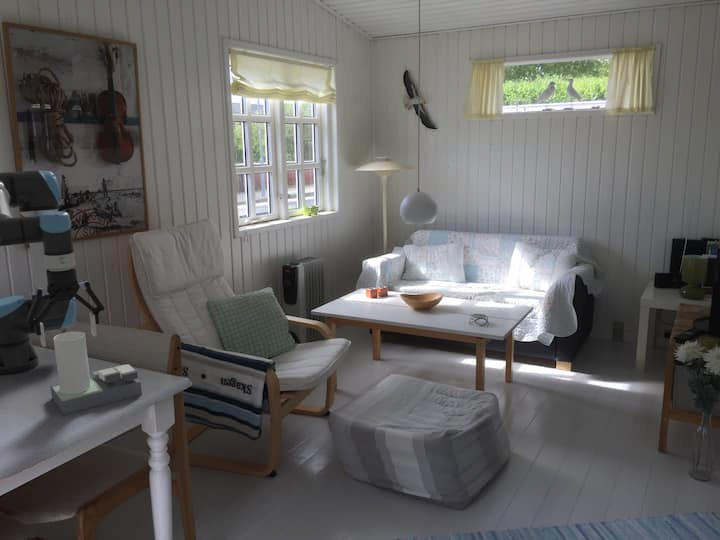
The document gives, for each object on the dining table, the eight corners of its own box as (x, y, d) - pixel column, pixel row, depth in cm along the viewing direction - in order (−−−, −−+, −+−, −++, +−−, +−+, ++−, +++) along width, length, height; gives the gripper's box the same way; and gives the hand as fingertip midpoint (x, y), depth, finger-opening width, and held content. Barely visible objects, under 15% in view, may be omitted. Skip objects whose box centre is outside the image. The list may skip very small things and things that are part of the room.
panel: (52, 398, 188) (49, 376, 186) (126, 379, 201) (124, 359, 200) (63, 414, 177) (60, 391, 176) (141, 394, 190) (139, 372, 189)
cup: (79, 395, 179) (73, 341, 175) (53, 393, 180) (46, 339, 177) (96, 383, 187) (90, 332, 183) (71, 382, 188) (65, 330, 185)
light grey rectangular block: (97, 371, 190) (105, 376, 184) (111, 367, 192) (119, 372, 186) (98, 377, 190) (106, 382, 184) (112, 374, 193) (120, 379, 186)
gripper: (13, 277, 165) (23, 353, 170) (111, 264, 180) (118, 334, 185) (7, 272, 171) (18, 346, 176) (103, 259, 186) (110, 327, 191)
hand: (69, 340), depth 180 cm, fingers open, 13 cm apart
